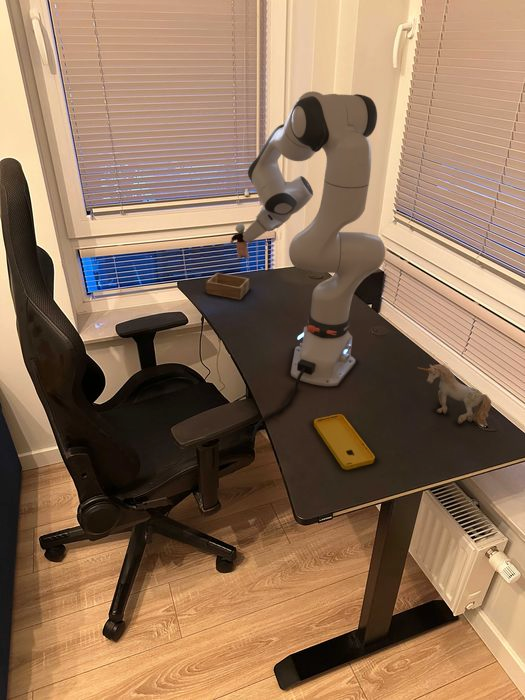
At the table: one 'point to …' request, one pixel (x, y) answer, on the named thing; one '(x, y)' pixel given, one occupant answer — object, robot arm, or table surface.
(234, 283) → the holder
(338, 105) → the robot arm
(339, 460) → the phone case
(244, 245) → the grandmother figurine
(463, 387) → the unicorn figurine
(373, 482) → the table surface
